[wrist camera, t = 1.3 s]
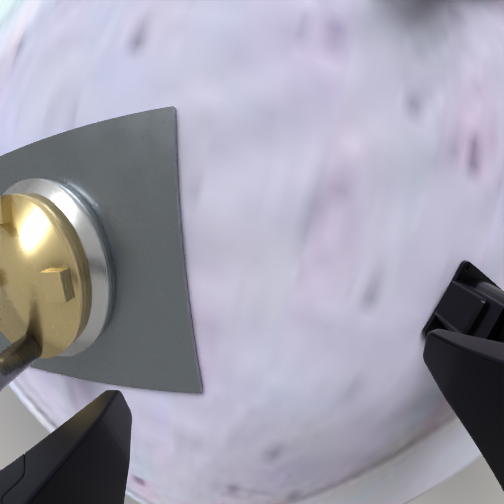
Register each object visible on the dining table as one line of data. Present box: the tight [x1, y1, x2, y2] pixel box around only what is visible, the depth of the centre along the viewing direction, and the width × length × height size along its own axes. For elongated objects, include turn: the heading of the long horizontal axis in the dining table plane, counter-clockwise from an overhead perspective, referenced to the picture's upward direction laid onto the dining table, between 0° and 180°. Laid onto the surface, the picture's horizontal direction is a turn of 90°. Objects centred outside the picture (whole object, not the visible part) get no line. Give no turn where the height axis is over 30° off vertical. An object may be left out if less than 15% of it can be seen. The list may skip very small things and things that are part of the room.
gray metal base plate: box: [0, 106, 203, 393], centre depth 18 cm, size 24×20×2 cm
